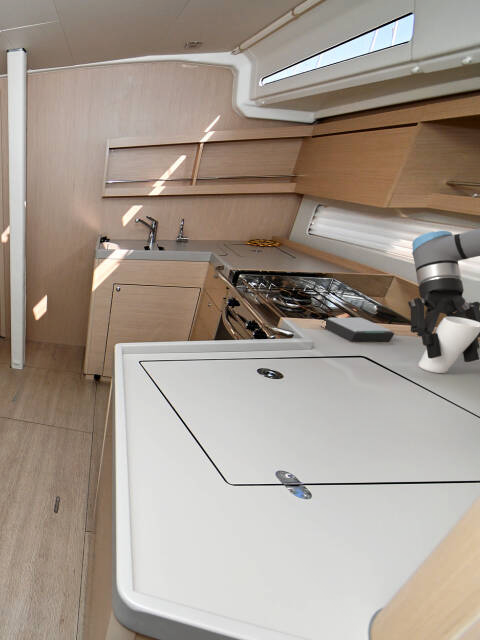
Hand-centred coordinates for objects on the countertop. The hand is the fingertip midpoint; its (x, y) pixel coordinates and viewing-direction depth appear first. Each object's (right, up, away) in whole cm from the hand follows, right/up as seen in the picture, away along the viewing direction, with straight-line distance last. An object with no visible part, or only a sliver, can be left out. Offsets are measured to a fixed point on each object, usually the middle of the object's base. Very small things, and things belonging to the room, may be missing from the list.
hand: (453, 358), depth 95 cm
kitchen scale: (+2, +7, +26) cm, 27 cm away
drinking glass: (+1, -3, +6) cm, 7 cm away
